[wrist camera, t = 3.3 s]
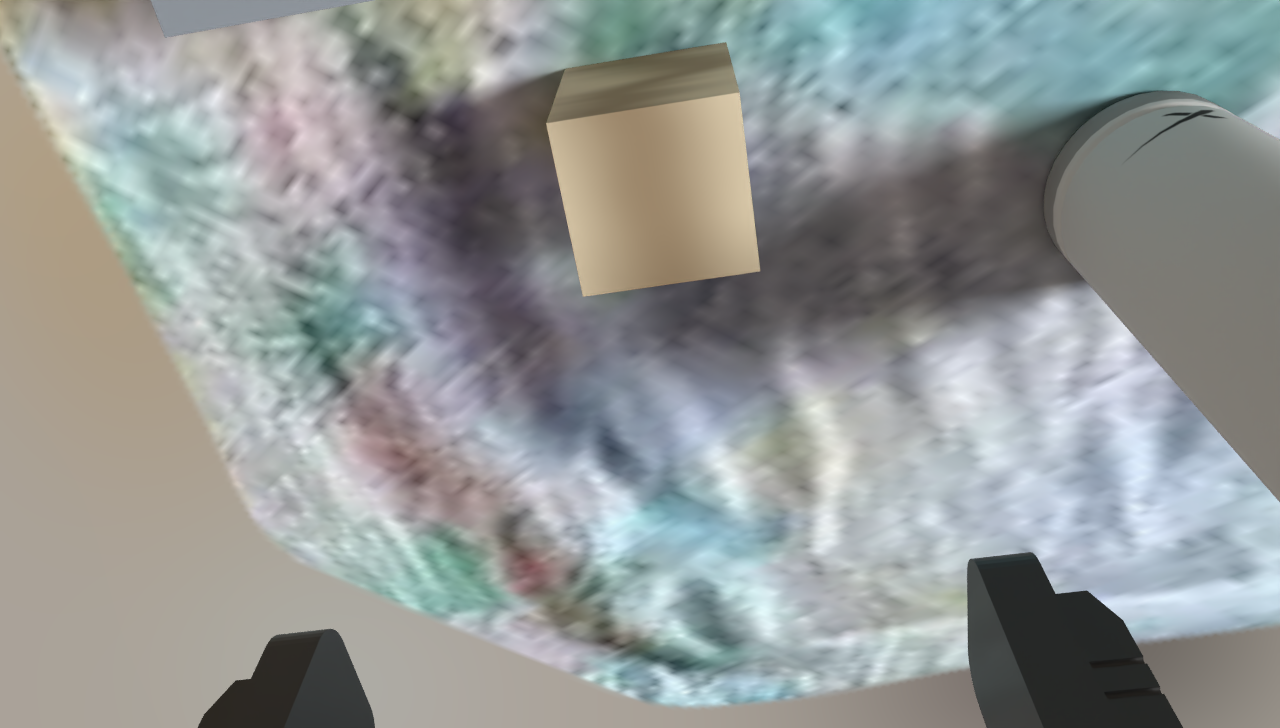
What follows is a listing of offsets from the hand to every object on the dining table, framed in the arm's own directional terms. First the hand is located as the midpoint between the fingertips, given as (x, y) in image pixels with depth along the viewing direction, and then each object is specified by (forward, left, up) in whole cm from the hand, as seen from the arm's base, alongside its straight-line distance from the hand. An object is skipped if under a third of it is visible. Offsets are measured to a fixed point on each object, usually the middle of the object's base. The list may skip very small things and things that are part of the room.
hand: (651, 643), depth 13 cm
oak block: (0, 0, -22) cm, 22 cm away
